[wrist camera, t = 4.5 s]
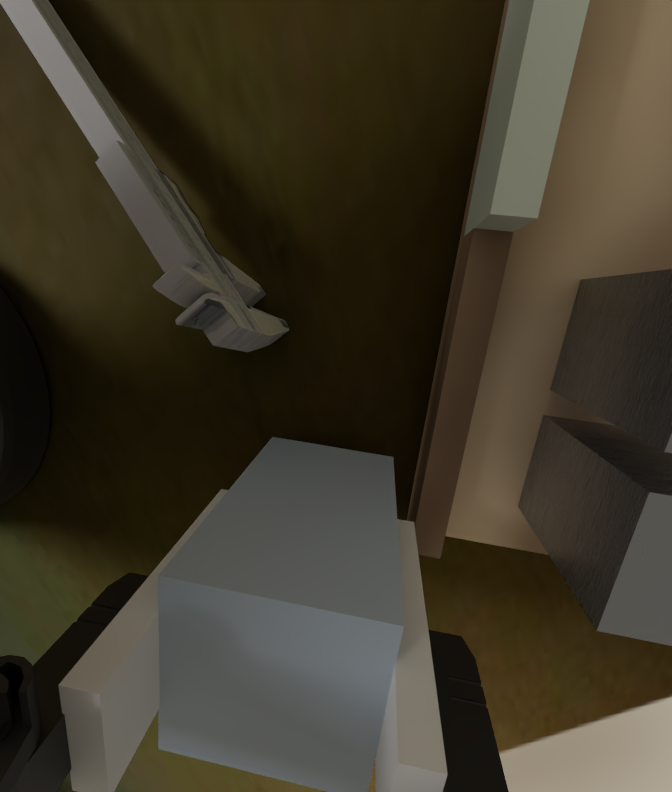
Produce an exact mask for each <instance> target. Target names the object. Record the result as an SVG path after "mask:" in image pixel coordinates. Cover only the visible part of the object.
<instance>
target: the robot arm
mask: <svg viewBox="0 0 672 792" xmlns="http://www.w3.org/2000/svg"><path fill="white" fill-rule="evenodd" d="M49 426H50V404H49V395H48V388H47V383H46V378H45V374H44V370H43V366H42V363H41V360H40V357H39V354H38V352H37V349H36V347H35V344H34V342H33V340H32V338H31V335H30V333H29V331H28V329H27V327H26V326H25V324H24V322H23V320H22V318H21V317H20V315H19V313H18V312H17V310H16V309H15V307H14V306H13V304H12V303H11V301H10V300H9V298H8V297H7V296H6V294H5V293H4V292H3V291H2V289H1V288H0V505H1V504H3V503H4V502H6V501H8V500H10V499H11V498H13V497H14V496H15V495H17V494H18V493H19V492H20V491H21V490H22V489H23V488H24V487H25V486H26V485H27V484H28V483H29V481H30V480H31V479H32V477H33V476H34V474H35V473H36V471H37V469H38V467H39V465H40V463H41V461H42V458H43V455H44V453H45V449H46V445H47V441H48V435H49ZM227 491H228V490H225V489H221V490H220V491H219V493H218V494H217V495H216V496H215V497H214V499H213V500H212V501H211V502H210V503H209V505H208V506H207V507H206V508H205V509H204V511H203V512H202V513H201V514H200V515H199V517H198V518H197V519H196V520H195V521H194V523H193V524H192V525H191V526H190V527H189V529H188V530H187V531H186V532H185V533H184V535H183V536H182V537H181V538H180V539H179V541H178V542H177V543H176V544H175V545H174V547H173V548H172V549H171V550H170V551H169V553H168V554H167V555H166V556H165V557H164V559H163V560H162V561H161V562H160V564H159V565H158V566H157V567H156V568H155V570H154V571H153V572H152V573H151V574H150V576H145V575H140V574H135V573H128V574H126V575H125V576H123V577H122V578H120V579H119V580H117V581H115V582H114V583H112V584H111V585H109V586H108V587H107V588H106V589H105V590H104V591H103V592H102V593H101V594H100V595H99V596H98V597H97V599H96V600H95V601H94V602H93V603H92V605H91V607H88V608H87V609H86V610H85V611H84V612H83V613H82V614H81V616H80V617H79V618H78V620H77V622H74V623H73V624H72V625H71V626H70V627H69V628H68V629H67V630H66V631H65V633H64V634H63V635H62V636H61V637H60V638H59V639H58V640H57V641H56V642H55V643H54V644H53V645H52V646H51V647H50V648H49V649H48V651H47V652H46V653H45V654H44V655H43V656H42V657H41V658H40V659H39V660H38V661H37V662H36V663H35V664H34V665H33V666H32V664H31V663H30V662H29V661H27V660H26V659H25V658H24V657H20V656H13V655H7V656H2V657H0V792H56V791H57V790H58V788H59V787H60V785H61V784H62V782H63V781H64V779H65V778H66V776H67V775H68V773H69V772H70V776H71V784H72V790H73V791H77V792H114V790H115V789H116V787H117V785H118V783H119V781H120V779H121V778H122V776H123V774H124V772H125V770H126V768H127V766H128V765H129V763H130V761H131V759H132V757H133V755H134V754H135V752H136V750H137V748H138V746H139V744H140V742H141V741H142V739H143V737H144V735H145V733H146V731H147V730H148V728H149V726H150V724H151V722H152V720H153V718H154V717H155V715H156V713H157V711H158V709H159V707H160V671H159V611H158V575H159V574H160V573H161V571H162V570H163V569H164V568H165V566H166V565H167V564H168V563H169V562H170V560H171V559H172V558H173V557H174V556H175V554H176V553H177V552H178V551H179V550H180V548H181V547H182V546H183V545H184V543H185V542H186V541H187V540H188V539H189V537H190V536H191V535H192V534H193V533H194V531H195V530H196V529H197V528H198V526H199V525H200V524H201V523H202V522H203V520H204V519H205V518H206V517H207V516H208V514H209V513H210V512H211V511H212V510H213V508H214V507H215V506H216V505H217V503H218V502H219V501H220V500H221V499H222V497H223V496H224V495H225V494H226V493H227ZM397 523H398V538H399V554H400V570H401V586H402V601H403V617H404V629H403V634H402V638H401V643H400V648H399V652H398V657H397V661H395V665H394V670H393V674H392V679H391V684H390V689H389V694H388V699H387V704H386V709H385V714H384V718H383V723H382V728H381V733H380V738H379V743H378V748H377V753H376V765H375V792H508V788H507V784H506V781H505V776H504V773H503V768H502V764H501V760H500V756H499V752H498V748H497V744H496V740H495V736H494V732H493V728H492V724H491V720H490V716H489V712H488V708H486V700H485V696H484V692H483V688H482V687H481V680H480V676H479V672H478V668H477V664H476V660H475V657H474V656H473V654H472V653H471V651H470V650H469V648H468V646H467V645H466V643H465V642H464V640H463V638H462V637H461V636H457V635H452V634H447V633H442V632H436V631H431V630H428V623H427V616H426V608H425V601H424V593H423V586H422V578H421V571H420V563H419V556H418V548H417V541H416V533H415V526H414V522H411V521H405V520H399V519H397Z"/></svg>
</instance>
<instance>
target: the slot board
mask: <svg viewBox="0 0 672 792" xmlns="http://www.w3.org/2000/svg"><path fill="white" fill-rule="evenodd" d="M508 5H509V0H505V4H504V10H503V15H502V20H501V25H500V31H499V36H498V41H497V46H496V52H495V57H494V62H493V68H492V73H491V78H490V83H489V89H488V94H487V99H486V104H485V110H484V115H483V120H482V125H481V131H480V136H479V141H478V146H477V152H476V157H475V162H474V168H473V173H472V178H471V183H470V189H469V194H468V199H467V204H466V210H465V215H464V220H463V225H462V231H461V236H460V241H459V247H458V252H457V257H456V262H455V268H454V273H453V278H452V283H451V289H450V294H449V299H448V304H447V310H446V315H445V320H444V325H443V331H442V336H441V341H440V347H439V352H438V357H437V362H436V368H435V373H434V378H433V383H432V389H431V394H430V399H429V404H428V410H427V415H426V420H425V425H424V431H423V436H422V441H421V447H420V452H419V457H418V462H417V468H416V473H415V478H414V483H413V489H412V494H411V499H410V504H409V510H408V515H407V521H411V522H414V526H415V533H416V541H417V548H418V555H422V556H428V557H433V558H438V559H440V557H441V553H442V548H443V544H444V540H445V536H447V537H453V538H458V539H464V540H469V541H475V542H480V543H486V544H491V545H497V546H502V547H507V548H513V549H518V550H524V551H529V552H535V553H540V554H546V555H548V553H547V552H546V550H545V548H544V547H543V545H542V544H541V542H540V541H539V539H538V537H537V536H536V534H535V533H534V531H533V530H532V528H531V526H530V525H529V523H528V522H527V520H526V518H525V517H524V515H523V514H522V512H521V511H520V509H519V507H518V503H519V500H520V496H521V493H522V489H523V485H524V482H525V478H526V475H527V471H528V467H529V464H530V460H531V457H532V453H533V449H534V446H535V442H536V439H537V435H538V431H539V428H540V424H541V421H542V417H543V415H548V416H555V417H562V418H569V419H575V420H582V421H589V422H596V423H603V424H610V425H614V424H612V423H610V422H608V421H606V420H605V419H603V418H601V417H599V416H597V415H595V414H594V413H592V412H590V411H588V410H586V409H584V408H583V407H581V406H579V405H577V404H575V403H573V402H571V401H570V400H568V399H566V398H564V397H562V396H560V395H559V394H557V393H555V392H553V391H551V390H550V388H551V384H552V380H553V377H554V373H555V370H556V366H557V362H558V359H559V355H560V352H561V348H562V344H563V341H564V337H565V334H566V330H567V326H568V323H569V319H570V316H571V312H572V308H573V305H574V301H575V298H576V294H577V290H578V287H579V283H580V280H581V279H590V278H598V277H607V276H615V275H624V274H632V273H641V272H649V271H658V270H666V269H672V0H590V1H589V5H588V9H587V13H586V17H585V22H584V26H583V30H582V34H581V38H580V43H579V47H578V51H577V55H576V59H575V64H574V68H573V72H572V76H571V80H570V85H569V89H568V93H567V97H566V101H565V106H564V110H563V114H562V118H561V122H560V127H559V131H558V135H557V139H556V143H555V148H554V152H553V156H552V160H551V164H550V168H549V173H548V177H547V181H546V185H545V189H544V194H543V198H542V202H541V206H540V210H539V215H538V218H537V219H536V220H534V221H532V222H530V223H528V224H527V225H525V226H523V227H521V228H520V229H518V230H516V231H514V232H510V231H500V230H489V229H479V228H473V229H472V230H471V231H470V232H469V233H468V234H466V235H465V236H464V233H465V228H466V223H467V218H468V213H469V207H470V202H471V197H472V192H473V187H474V181H475V176H476V171H477V166H478V161H479V155H480V150H481V145H482V140H483V135H484V129H485V124H486V119H487V114H488V109H489V103H490V98H491V93H492V88H493V83H494V77H495V72H496V67H497V62H498V57H499V51H500V46H501V41H502V36H503V31H504V25H505V20H506V15H507V10H508Z"/></svg>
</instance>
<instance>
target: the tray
mask: <svg viewBox="0 0 672 792" xmlns="http://www.w3.org/2000/svg"><path fill="white" fill-rule="evenodd" d="M589 1H590V0H509V5H508V10H507V15H506V20H505V25H504V31H503V36H502V41H501V46H500V51H499V57H498V62H497V67H496V72H495V77H494V83H493V88H492V93H491V98H490V103H489V109H488V114H487V119H486V124H485V129H484V135H483V140H482V145H481V150H480V155H479V161H478V166H477V171H476V176H475V181H474V187H473V192H472V197H471V202H470V207H469V213H468V218H467V223H466V228H465V233H464V236H465V235H466V234H468V233H469V232H470V231H471V230H472V229H473V228H479V229H489V230H500V231H510V232H514V231H516V230H518V229H520V228H521V227H523V226H525V225H527V224H528V223H530V222H532V221H534V220H536V219H537V218H538V215H539V210H540V206H541V202H542V198H543V194H544V189H545V185H546V181H547V177H548V173H549V168H550V164H551V160H552V156H553V152H554V148H555V143H556V139H557V135H558V131H559V127H560V122H561V118H562V114H563V110H564V106H565V101H566V97H567V93H568V89H569V85H570V80H571V76H572V72H573V68H574V64H575V59H576V55H577V51H578V47H579V43H580V38H581V34H582V30H583V26H584V22H585V17H586V13H587V9H588V5H589Z"/></svg>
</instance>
